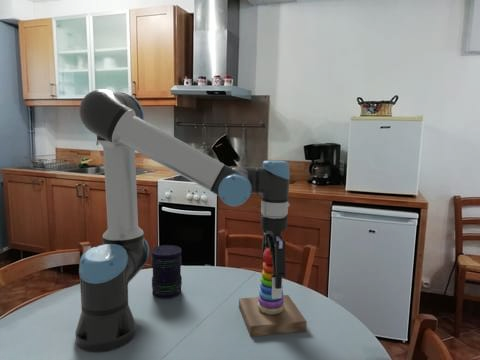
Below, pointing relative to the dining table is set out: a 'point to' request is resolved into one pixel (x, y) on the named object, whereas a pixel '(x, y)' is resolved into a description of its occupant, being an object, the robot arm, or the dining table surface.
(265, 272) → the stacking toy
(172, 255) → the storage jar
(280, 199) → the robot arm
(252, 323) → the walnut base
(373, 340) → the dining table surface
